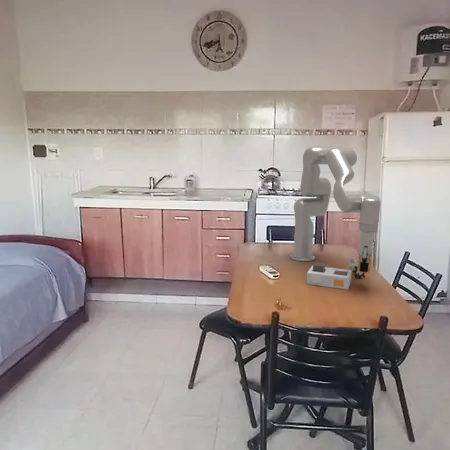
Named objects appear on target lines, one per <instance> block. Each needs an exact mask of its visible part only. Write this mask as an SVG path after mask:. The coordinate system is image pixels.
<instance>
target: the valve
mask: <svg viewBox="0 0 450 450" xmlns="http://www.w3.org/2000/svg"><path fill="white" fill-rule="evenodd" d="M358 260H359V258H356V257H350V258H349V263H348V270H352V274H353V277H354V278H358V279H359V280H360V279H362V277H363V278H366V275H365V274H366V273H363V272H357V270H358Z"/></svg>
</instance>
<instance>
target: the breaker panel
mask: <svg viewBox="0 0 450 450" xmlns="http://www.w3.org/2000/svg"><path fill="white" fill-rule="evenodd" d="M313 265H314V264H313ZM313 265H311V267H310V268H309V270H308V271H307V273H306V285H313V286H321V287H325V288H335V289H341V290H347V291H348V290H349V289H350V288H349V287H350V285H351V283H352V274H353V273H352V270H349V269H344V268H338V267H337V268H336V267H327V266H325V272H324V273H322V272H314V271H313ZM336 271H344V272H347V276H346V275H338V274H335V272H336Z"/></svg>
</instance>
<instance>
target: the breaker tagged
mask: <svg viewBox="0 0 450 450" xmlns="http://www.w3.org/2000/svg"><path fill="white" fill-rule="evenodd" d="M335 274H338V275H346V276H347V272H344V271H336V272H335Z"/></svg>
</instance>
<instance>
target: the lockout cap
mask: <svg viewBox="0 0 450 450" xmlns="http://www.w3.org/2000/svg"><path fill="white" fill-rule="evenodd" d="M367 255H368V254H367ZM361 257H362V254H360V255H358V263H357V264H358V270H357V272H361V271H360V262H361ZM366 258H367V257H366ZM372 261H373V256H372V255H370V256H369V258H368V263H369V264H368V272H362V274H363V273H365V274H370V273H371V271H372V270H371V268H372Z"/></svg>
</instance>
